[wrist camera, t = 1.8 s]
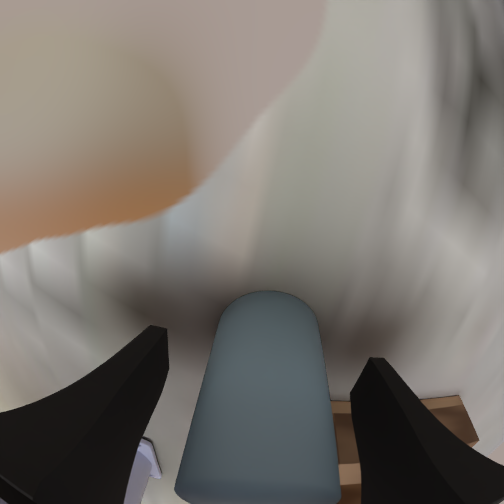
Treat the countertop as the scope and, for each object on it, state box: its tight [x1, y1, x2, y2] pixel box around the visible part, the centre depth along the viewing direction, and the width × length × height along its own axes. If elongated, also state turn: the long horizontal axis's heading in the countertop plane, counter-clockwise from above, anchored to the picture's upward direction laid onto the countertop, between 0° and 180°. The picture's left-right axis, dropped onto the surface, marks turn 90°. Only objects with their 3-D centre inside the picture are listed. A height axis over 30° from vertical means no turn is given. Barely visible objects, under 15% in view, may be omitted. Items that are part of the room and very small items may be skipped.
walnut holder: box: [331, 396, 479, 504], centre depth 13 cm, size 12×12×4 cm
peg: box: [174, 291, 341, 504], centre depth 8 cm, size 4×4×7 cm
